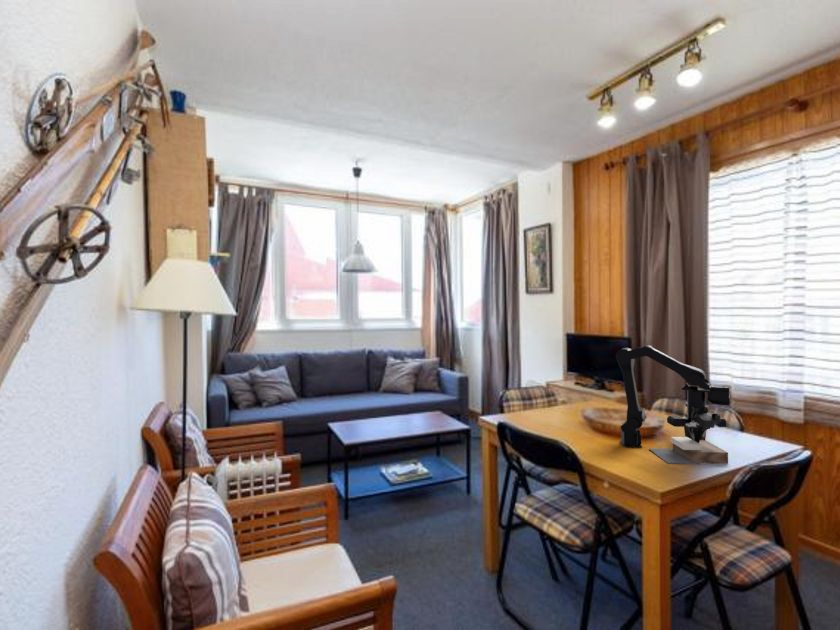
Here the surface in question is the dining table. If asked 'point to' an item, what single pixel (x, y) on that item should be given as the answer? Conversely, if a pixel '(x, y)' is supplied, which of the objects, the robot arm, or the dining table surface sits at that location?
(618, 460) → the dining table surface
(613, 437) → the dining table surface
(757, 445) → the dining table surface
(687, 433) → the coffee mug
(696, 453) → the block
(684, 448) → the ceramic tile
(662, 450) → the charcoal mat
